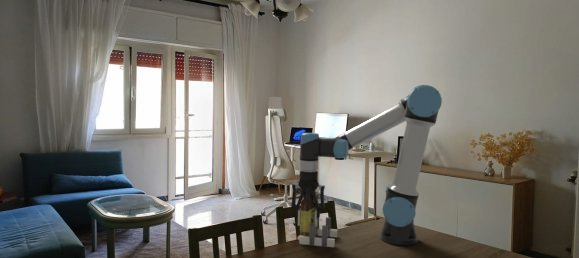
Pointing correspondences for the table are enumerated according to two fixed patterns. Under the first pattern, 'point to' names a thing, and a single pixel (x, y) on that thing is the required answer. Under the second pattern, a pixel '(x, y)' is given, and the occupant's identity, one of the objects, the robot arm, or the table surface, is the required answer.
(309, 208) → the sauce bottle
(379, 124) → the robot arm
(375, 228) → the table surface
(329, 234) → the grey block structure
